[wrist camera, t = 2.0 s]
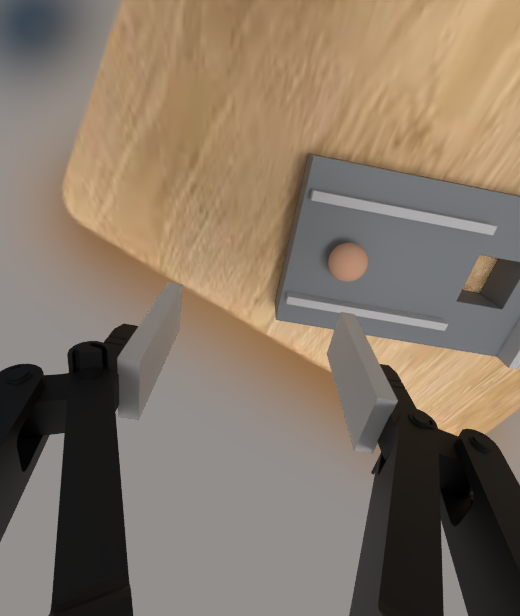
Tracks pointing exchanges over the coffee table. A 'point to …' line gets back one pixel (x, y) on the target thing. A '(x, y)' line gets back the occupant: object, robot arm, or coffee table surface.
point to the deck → (405, 258)
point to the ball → (348, 262)
